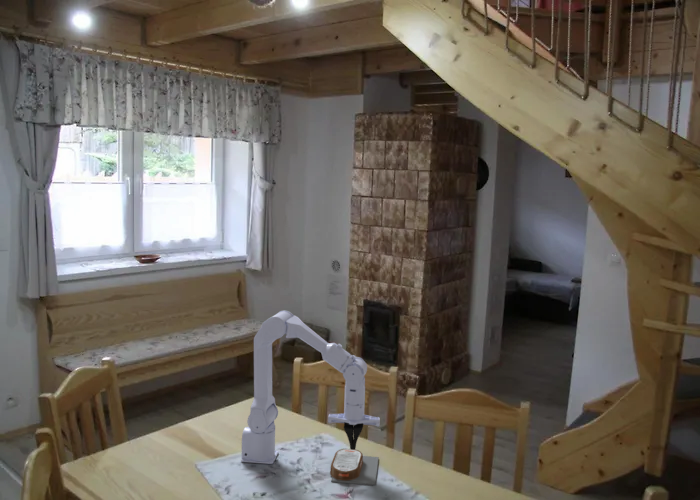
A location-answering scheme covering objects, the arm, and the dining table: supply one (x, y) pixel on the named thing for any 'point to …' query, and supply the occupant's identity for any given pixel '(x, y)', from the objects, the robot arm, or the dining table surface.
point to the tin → (346, 464)
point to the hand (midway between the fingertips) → (353, 448)
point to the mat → (364, 472)
